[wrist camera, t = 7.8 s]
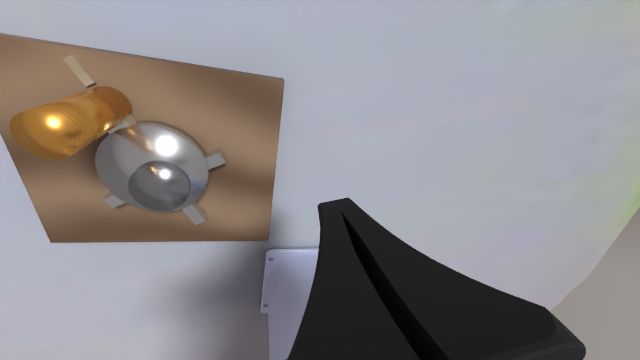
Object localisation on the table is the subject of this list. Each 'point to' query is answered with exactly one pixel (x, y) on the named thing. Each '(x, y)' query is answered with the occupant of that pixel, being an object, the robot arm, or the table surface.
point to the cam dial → (122, 150)
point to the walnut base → (147, 105)
